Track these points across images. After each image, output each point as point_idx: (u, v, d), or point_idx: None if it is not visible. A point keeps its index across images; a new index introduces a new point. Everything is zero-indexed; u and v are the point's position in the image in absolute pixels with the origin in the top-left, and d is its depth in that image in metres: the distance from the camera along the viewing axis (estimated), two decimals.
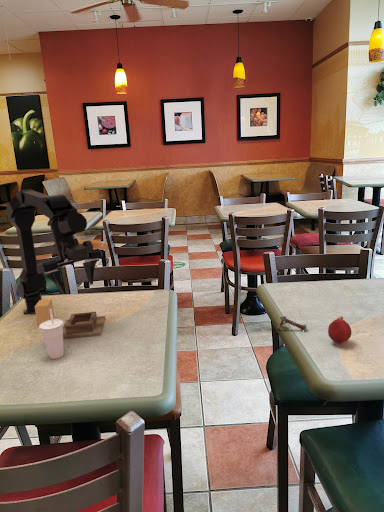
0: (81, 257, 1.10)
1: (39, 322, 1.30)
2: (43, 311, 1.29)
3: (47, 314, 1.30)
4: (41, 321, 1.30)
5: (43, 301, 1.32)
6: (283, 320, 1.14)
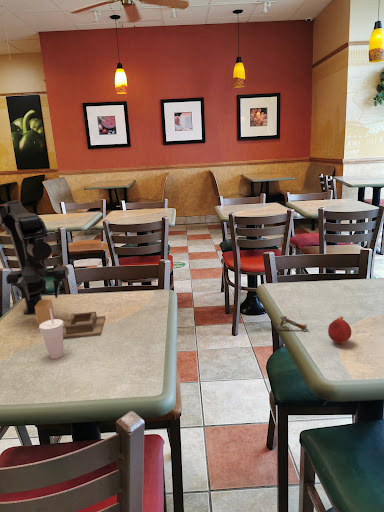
0: (30, 281, 1.21)
1: (39, 322, 1.30)
2: (43, 311, 1.29)
3: (47, 314, 1.29)
4: (41, 321, 1.30)
5: (43, 301, 1.32)
6: (283, 320, 1.14)
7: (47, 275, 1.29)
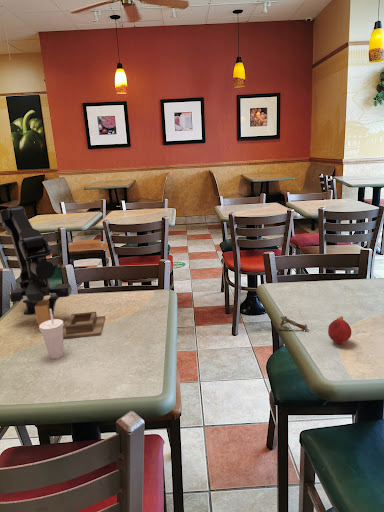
0: (33, 300, 1.23)
1: (39, 322, 1.30)
2: (43, 311, 1.29)
3: (47, 314, 1.29)
4: (41, 321, 1.30)
5: (42, 301, 1.32)
6: (284, 320, 1.14)
7: None
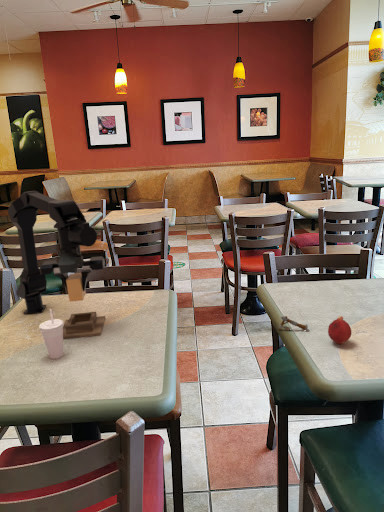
0: (66, 271, 1.13)
1: (71, 297, 1.20)
2: (75, 285, 1.19)
3: (79, 288, 1.20)
4: (73, 296, 1.20)
5: (74, 275, 1.22)
6: (284, 320, 1.14)
7: (82, 265, 1.21)
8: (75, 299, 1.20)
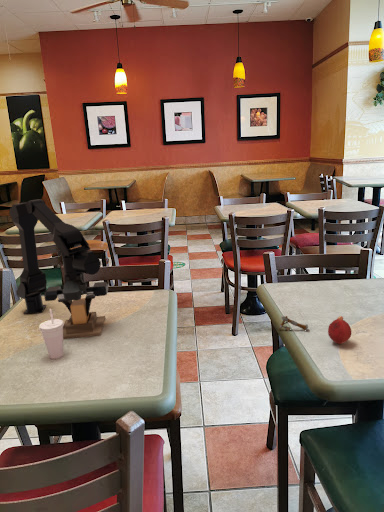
0: (70, 299, 1.15)
1: (75, 322, 1.22)
2: (79, 311, 1.21)
3: (83, 314, 1.22)
4: (77, 321, 1.22)
5: (78, 300, 1.25)
6: (284, 320, 1.14)
7: (86, 291, 1.23)
8: None
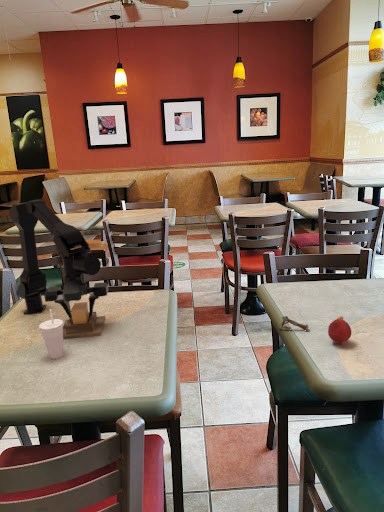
0: (71, 299, 1.15)
1: None
2: (80, 315, 1.22)
3: (84, 318, 1.22)
4: None
5: (78, 304, 1.25)
6: (285, 320, 1.14)
7: (86, 292, 1.23)
8: None
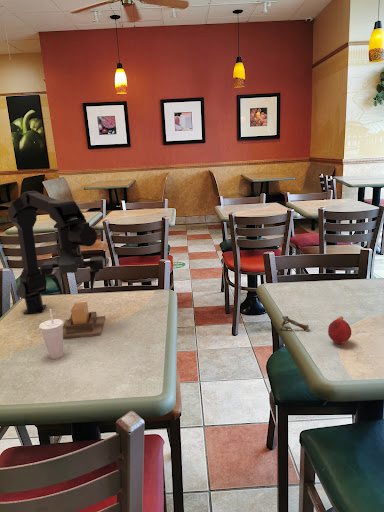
0: (66, 271, 1.13)
1: None
2: (80, 315, 1.22)
3: (84, 318, 1.22)
4: None
5: (78, 304, 1.25)
6: (285, 320, 1.14)
7: (83, 265, 1.20)
8: None
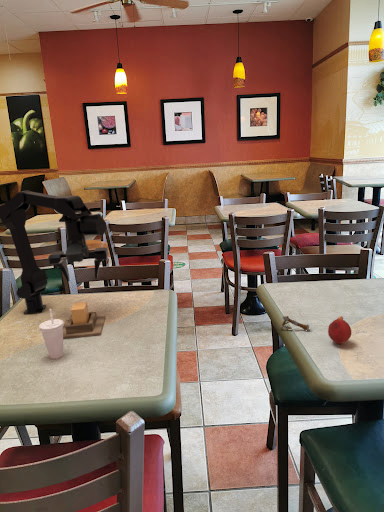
0: (73, 260, 1.23)
1: None
2: (80, 315, 1.22)
3: (84, 318, 1.22)
4: None
5: (78, 304, 1.25)
6: (286, 320, 1.14)
7: (88, 256, 1.30)
8: None
